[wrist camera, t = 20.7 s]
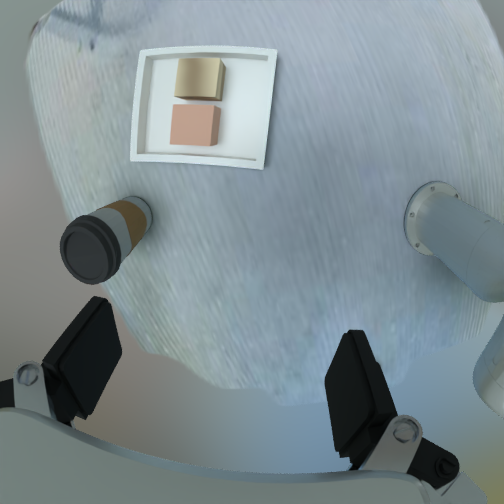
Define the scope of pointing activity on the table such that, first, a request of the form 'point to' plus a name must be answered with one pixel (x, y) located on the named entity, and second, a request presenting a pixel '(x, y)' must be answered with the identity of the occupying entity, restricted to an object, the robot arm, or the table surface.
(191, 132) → the terracotta block
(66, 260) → the coffee cup
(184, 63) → the maple block
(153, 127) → the tray
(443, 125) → the table surface
